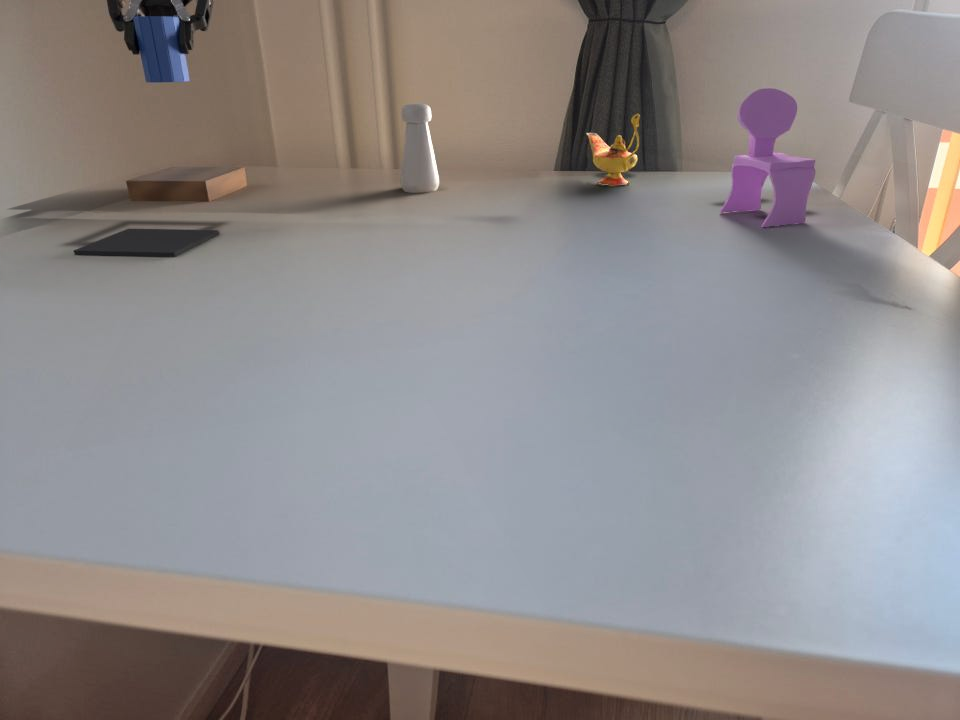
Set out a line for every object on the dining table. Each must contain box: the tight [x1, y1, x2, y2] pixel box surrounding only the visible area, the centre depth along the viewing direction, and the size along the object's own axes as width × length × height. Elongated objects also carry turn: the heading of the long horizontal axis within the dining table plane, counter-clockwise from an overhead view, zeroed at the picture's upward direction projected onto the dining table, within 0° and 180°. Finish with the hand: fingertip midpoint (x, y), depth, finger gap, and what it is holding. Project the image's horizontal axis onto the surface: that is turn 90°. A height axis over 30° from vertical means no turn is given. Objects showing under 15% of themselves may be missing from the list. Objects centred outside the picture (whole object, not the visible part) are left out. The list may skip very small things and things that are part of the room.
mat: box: [73, 228, 220, 258], centre depth 79 cm, size 12×10×1 cm
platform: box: [125, 166, 248, 203], centre depth 101 cm, size 12×12×4 cm
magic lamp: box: [585, 112, 641, 185], centre depth 107 cm, size 7×18×11 cm, turn 15°
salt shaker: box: [399, 103, 440, 194], centre depth 98 cm, size 6×6×13 cm
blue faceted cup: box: [133, 16, 191, 84], centre depth 92 cm, size 6×6×8 cm
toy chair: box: [719, 87, 816, 228], centre depth 81 cm, size 8×9×15 cm
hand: (159, 49), depth 91 cm, fingers closed on blue faceted cup, 5 cm apart
